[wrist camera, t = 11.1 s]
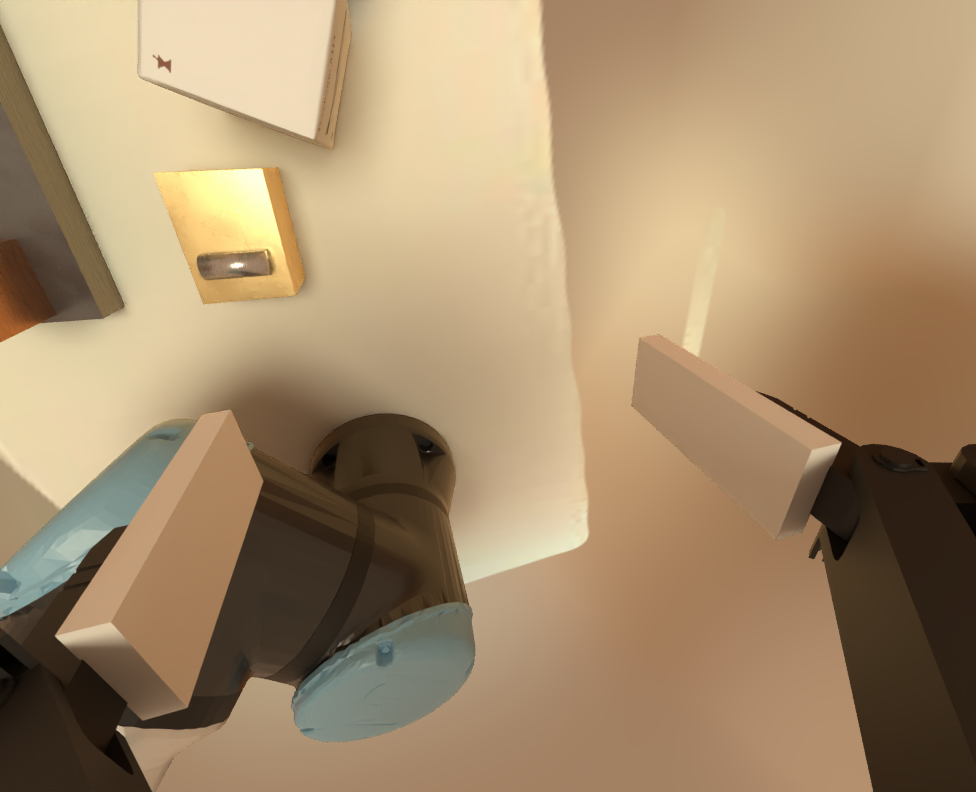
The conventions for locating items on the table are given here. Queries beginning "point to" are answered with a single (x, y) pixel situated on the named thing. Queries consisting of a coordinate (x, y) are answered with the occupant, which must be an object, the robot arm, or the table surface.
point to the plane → (42, 223)
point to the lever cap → (234, 232)
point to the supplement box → (251, 58)
